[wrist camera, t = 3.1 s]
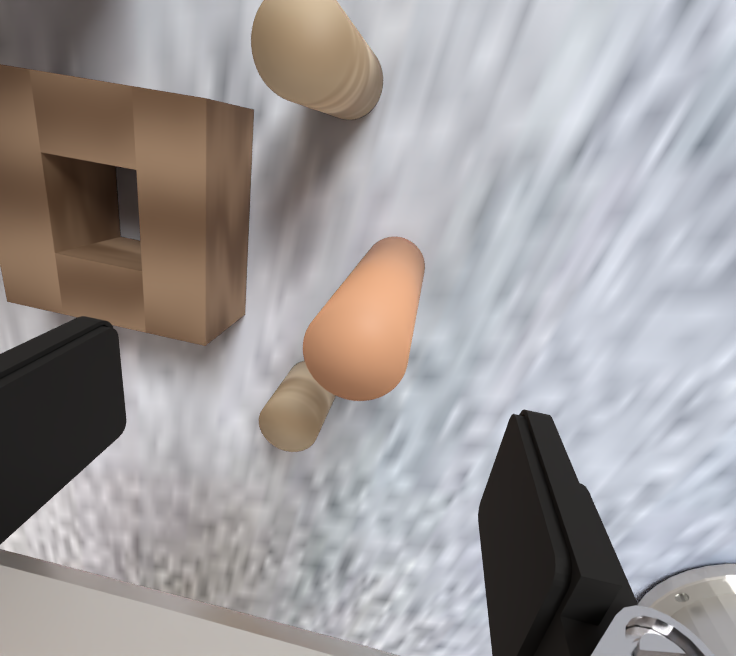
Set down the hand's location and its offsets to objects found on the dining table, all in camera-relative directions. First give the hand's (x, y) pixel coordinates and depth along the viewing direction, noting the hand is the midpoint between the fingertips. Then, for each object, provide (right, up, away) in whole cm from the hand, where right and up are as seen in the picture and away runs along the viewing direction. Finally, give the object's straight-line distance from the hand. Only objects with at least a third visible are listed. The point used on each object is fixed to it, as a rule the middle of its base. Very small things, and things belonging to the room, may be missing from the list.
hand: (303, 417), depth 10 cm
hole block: (-11, +10, +16) cm, 22 cm away
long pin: (+3, +6, +15) cm, 16 cm away
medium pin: (+1, +15, +12) cm, 19 cm away
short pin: (-2, -2, +19) cm, 19 cm away
